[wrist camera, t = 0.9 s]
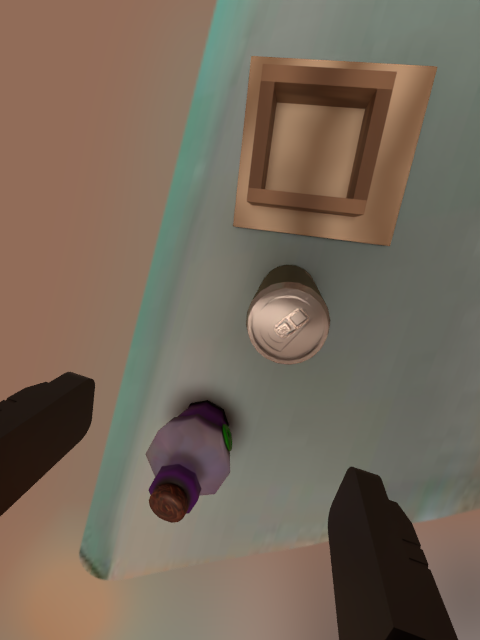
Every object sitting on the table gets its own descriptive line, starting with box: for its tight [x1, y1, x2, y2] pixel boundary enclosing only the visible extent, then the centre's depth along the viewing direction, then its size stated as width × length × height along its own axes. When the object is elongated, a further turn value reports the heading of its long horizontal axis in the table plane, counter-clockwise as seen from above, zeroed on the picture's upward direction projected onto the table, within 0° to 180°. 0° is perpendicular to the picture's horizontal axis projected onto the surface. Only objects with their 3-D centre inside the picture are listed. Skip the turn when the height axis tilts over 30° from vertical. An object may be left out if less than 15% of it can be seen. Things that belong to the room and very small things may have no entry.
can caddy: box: [233, 56, 437, 246], centre depth 24 cm, size 14×13×5 cm
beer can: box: [246, 265, 330, 364], centre depth 24 cm, size 5×5×12 cm
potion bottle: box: [146, 400, 232, 523], centre depth 30 cm, size 9×9×12 cm
